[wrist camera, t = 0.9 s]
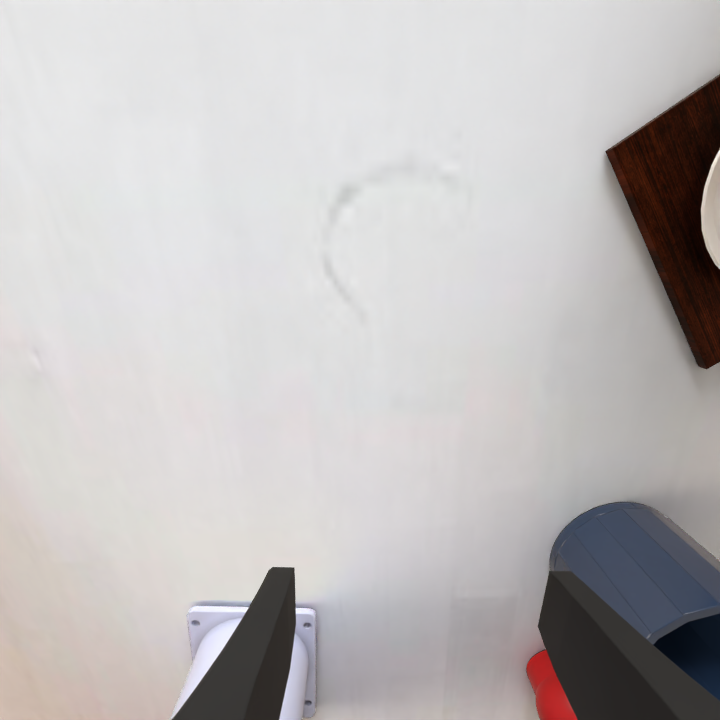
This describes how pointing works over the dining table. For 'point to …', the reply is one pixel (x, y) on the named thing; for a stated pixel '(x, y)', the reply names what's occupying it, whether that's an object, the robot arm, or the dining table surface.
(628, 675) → the robot arm
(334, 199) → the dining table surface
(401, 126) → the dining table surface
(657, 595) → the tumbler
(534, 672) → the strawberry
